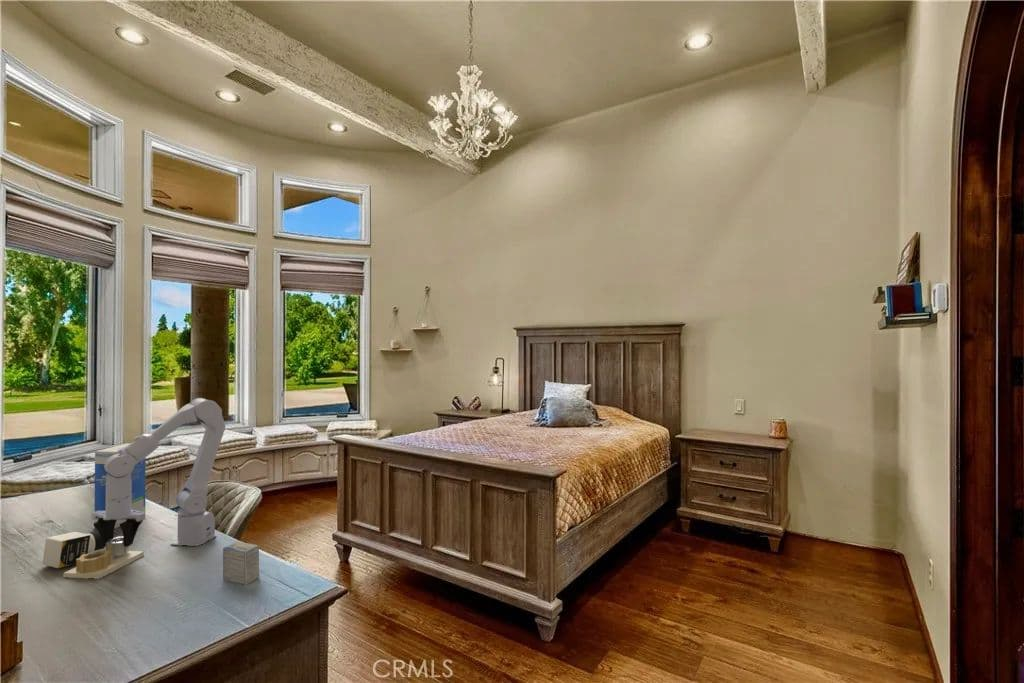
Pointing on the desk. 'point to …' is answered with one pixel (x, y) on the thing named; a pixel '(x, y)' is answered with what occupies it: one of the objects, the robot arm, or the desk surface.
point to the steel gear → (117, 547)
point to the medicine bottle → (70, 548)
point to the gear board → (101, 563)
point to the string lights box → (100, 481)
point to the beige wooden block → (241, 562)
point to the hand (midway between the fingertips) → (118, 545)
